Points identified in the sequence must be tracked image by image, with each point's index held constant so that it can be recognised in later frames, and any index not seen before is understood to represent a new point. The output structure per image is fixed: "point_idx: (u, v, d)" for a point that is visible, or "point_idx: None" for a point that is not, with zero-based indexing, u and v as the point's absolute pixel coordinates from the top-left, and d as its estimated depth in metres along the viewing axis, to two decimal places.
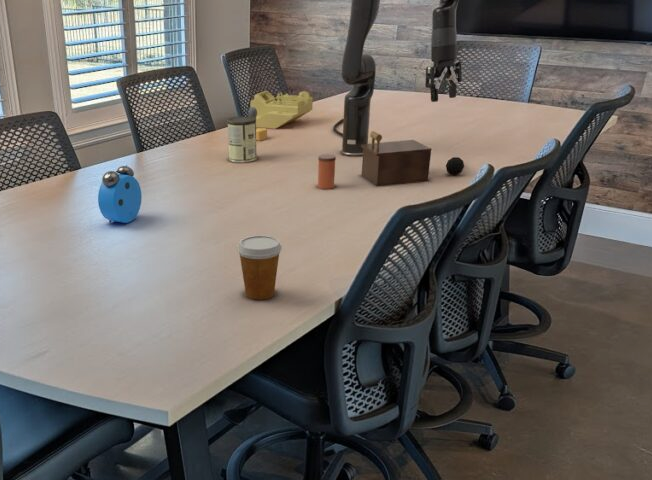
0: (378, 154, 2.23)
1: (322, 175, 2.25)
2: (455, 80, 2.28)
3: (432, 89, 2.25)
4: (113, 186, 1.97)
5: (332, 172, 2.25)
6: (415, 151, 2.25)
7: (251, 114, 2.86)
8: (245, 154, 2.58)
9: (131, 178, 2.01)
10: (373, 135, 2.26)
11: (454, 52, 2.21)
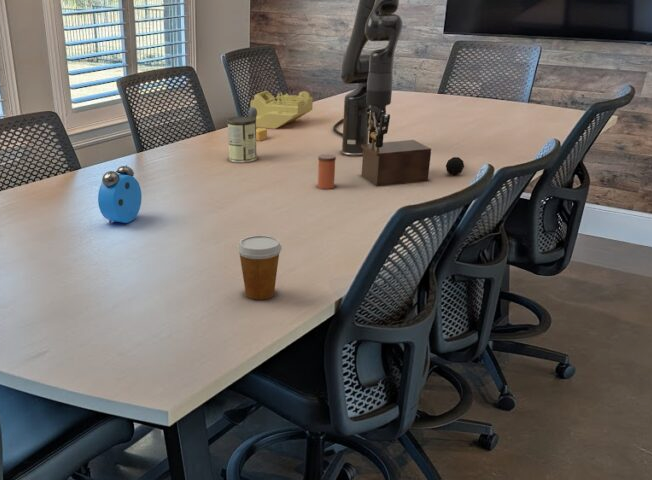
0: (378, 154, 2.23)
1: (322, 175, 2.25)
2: (376, 130, 2.23)
3: None
4: (113, 186, 1.97)
5: (332, 172, 2.25)
6: (415, 151, 2.25)
7: (251, 114, 2.86)
8: (245, 154, 2.58)
9: (131, 178, 2.01)
10: (373, 135, 2.26)
11: (368, 98, 2.19)
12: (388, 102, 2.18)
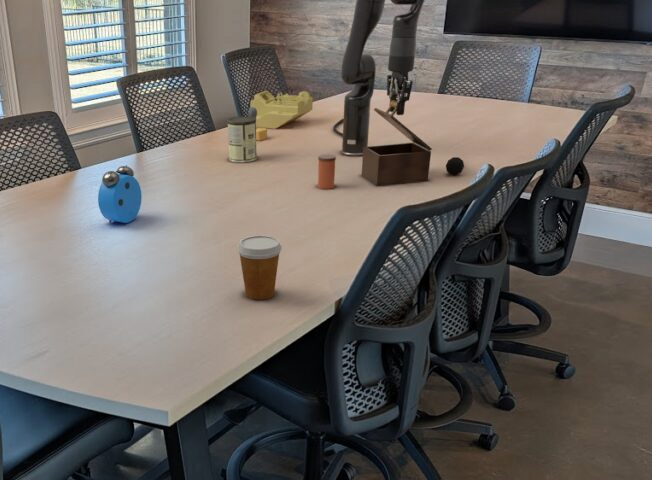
0: (392, 117, 2.18)
1: (322, 175, 2.25)
2: (397, 97, 2.19)
3: None
4: (113, 186, 1.97)
5: (332, 172, 2.25)
6: (419, 140, 2.23)
7: (251, 114, 2.86)
8: (245, 154, 2.58)
9: (131, 178, 2.01)
10: (394, 102, 2.22)
11: (390, 64, 2.16)
12: (411, 68, 2.15)
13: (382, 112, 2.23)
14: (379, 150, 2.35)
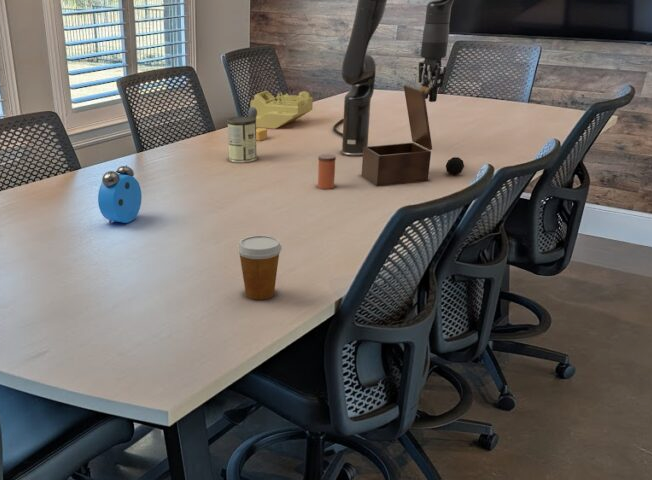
0: (423, 93, 2.16)
1: (322, 175, 2.25)
2: (430, 84, 2.19)
3: None
4: (113, 186, 1.97)
5: (332, 172, 2.25)
6: (428, 133, 2.22)
7: (251, 114, 2.86)
8: (245, 154, 2.58)
9: (131, 178, 2.01)
10: (427, 87, 2.22)
11: (423, 50, 2.16)
12: (444, 54, 2.15)
13: (413, 88, 2.21)
14: (379, 150, 2.35)
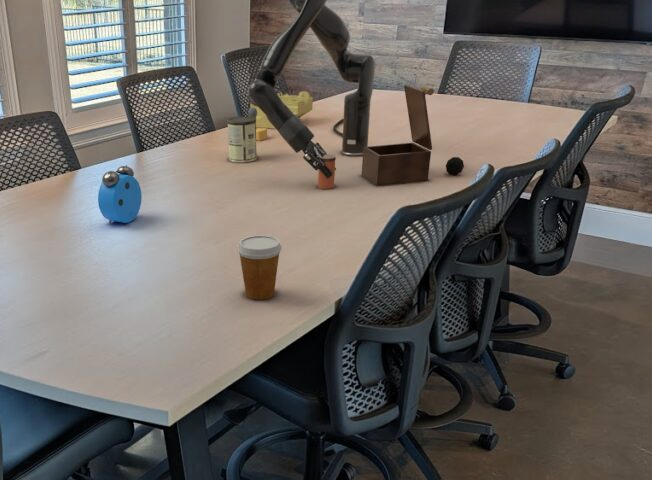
0: (423, 93, 2.16)
1: (322, 175, 2.25)
2: None
3: None
4: (113, 186, 1.97)
5: (332, 172, 2.25)
6: (428, 133, 2.22)
7: (251, 114, 2.86)
8: (245, 154, 2.58)
9: (131, 178, 2.01)
10: (427, 87, 2.22)
11: None
12: (306, 140, 2.21)
13: (413, 87, 2.21)
14: (379, 150, 2.35)
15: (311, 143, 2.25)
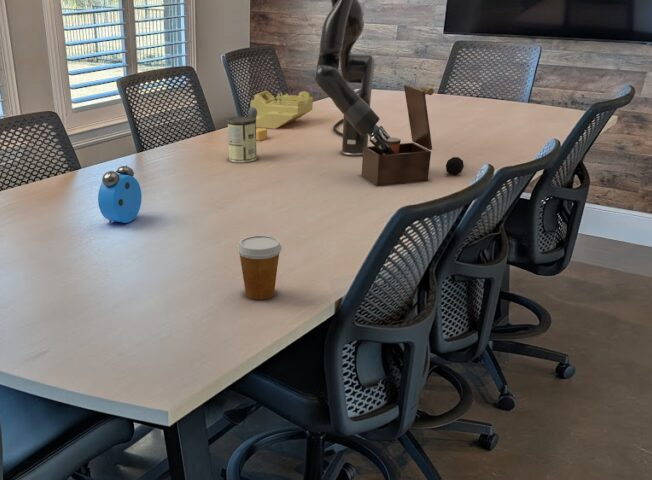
0: (423, 93, 2.16)
1: None
2: None
3: None
4: (113, 186, 1.97)
5: None
6: (428, 133, 2.22)
7: (251, 114, 2.86)
8: (245, 154, 2.58)
9: (131, 178, 2.01)
10: (427, 87, 2.22)
11: (357, 131, 2.29)
12: (372, 123, 2.24)
13: (413, 87, 2.21)
14: None
15: (376, 126, 2.28)
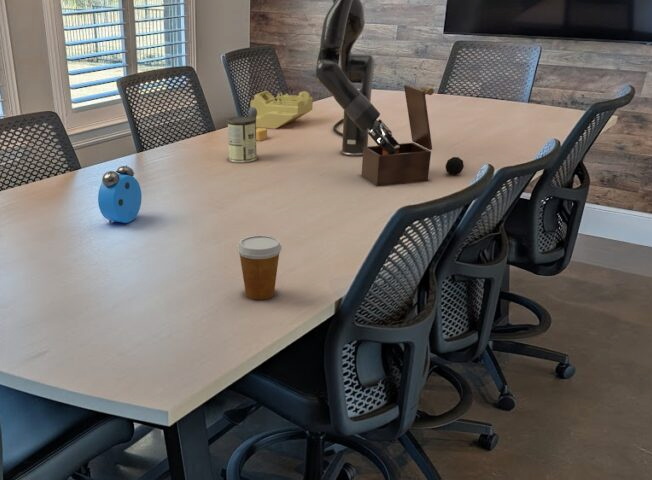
0: (423, 93, 2.16)
1: None
2: None
3: None
4: (113, 186, 1.97)
5: None
6: (428, 133, 2.22)
7: (251, 114, 2.86)
8: (245, 154, 2.58)
9: (131, 178, 2.01)
10: (427, 87, 2.22)
11: (358, 127, 2.28)
12: (372, 118, 2.23)
13: (413, 87, 2.21)
14: (379, 150, 2.35)
15: (376, 122, 2.28)
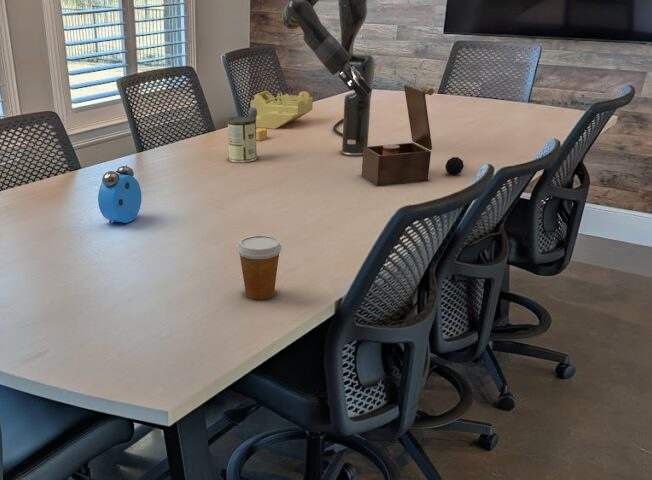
0: (423, 93, 2.16)
1: None
2: None
3: None
4: (113, 186, 1.97)
5: None
6: (428, 133, 2.22)
7: (251, 114, 2.86)
8: (245, 154, 2.58)
9: (131, 178, 2.01)
10: (427, 87, 2.22)
11: (329, 70, 2.22)
12: (343, 61, 2.17)
13: (413, 87, 2.21)
14: (379, 150, 2.35)
15: (348, 65, 2.22)
